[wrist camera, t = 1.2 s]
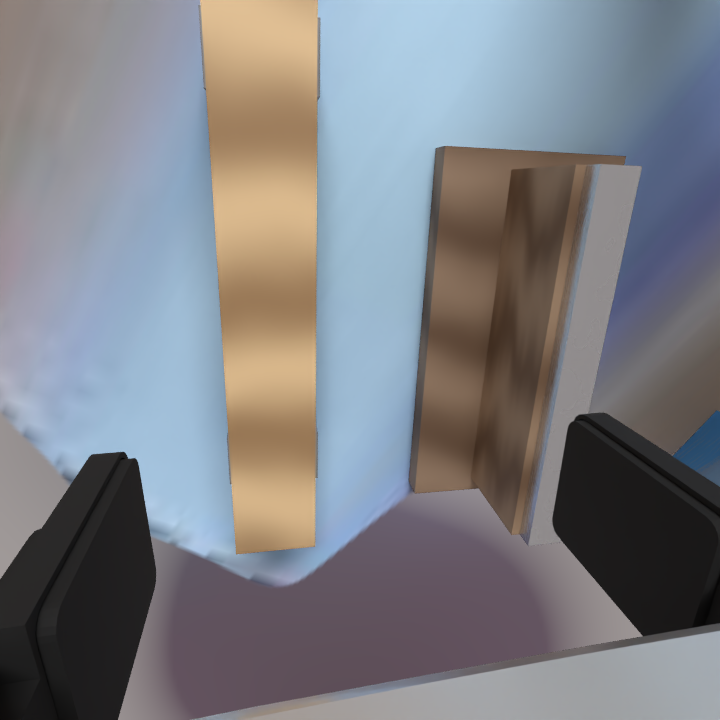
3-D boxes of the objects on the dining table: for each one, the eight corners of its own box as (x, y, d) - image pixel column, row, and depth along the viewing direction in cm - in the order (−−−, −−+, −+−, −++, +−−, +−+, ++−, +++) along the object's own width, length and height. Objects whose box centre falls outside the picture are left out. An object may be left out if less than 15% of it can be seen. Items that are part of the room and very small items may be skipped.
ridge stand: (436, 148, 27) (505, 131, 19) (608, 157, 29) (736, 146, 21) (408, 481, 34) (450, 568, 26) (547, 470, 36) (625, 549, 28)
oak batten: (208, -38, 19) (194, -93, 15) (308, -27, 20) (318, -76, 16) (240, 505, 28) (236, 554, 24) (309, 499, 28) (315, 546, 25)
